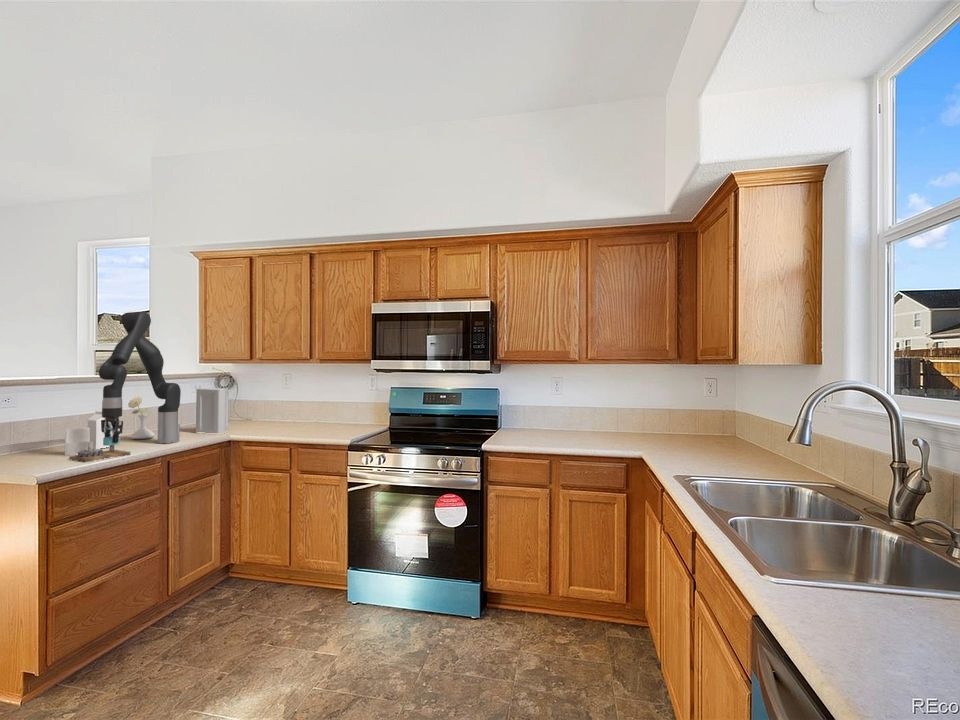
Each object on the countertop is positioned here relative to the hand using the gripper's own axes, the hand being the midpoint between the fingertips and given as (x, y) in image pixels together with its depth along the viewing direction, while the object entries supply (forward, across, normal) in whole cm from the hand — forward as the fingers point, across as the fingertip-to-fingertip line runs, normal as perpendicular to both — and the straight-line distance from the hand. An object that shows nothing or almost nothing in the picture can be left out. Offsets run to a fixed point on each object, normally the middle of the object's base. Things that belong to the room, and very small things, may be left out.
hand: (111, 442), depth 214 cm
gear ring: (+1, 0, 0) cm, 1 cm away
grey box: (+6, +24, -71) cm, 75 cm away
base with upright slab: (+7, +20, +4) cm, 21 cm away
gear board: (+6, 0, +4) cm, 8 cm away
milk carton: (+7, +26, -8) cm, 28 cm away
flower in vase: (+6, +39, -35) cm, 53 cm away
